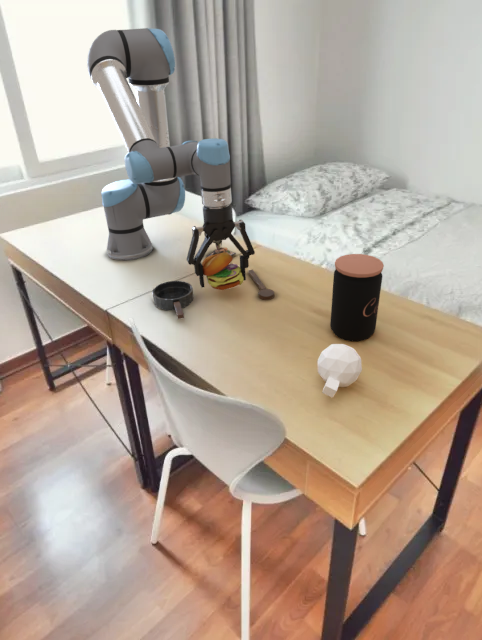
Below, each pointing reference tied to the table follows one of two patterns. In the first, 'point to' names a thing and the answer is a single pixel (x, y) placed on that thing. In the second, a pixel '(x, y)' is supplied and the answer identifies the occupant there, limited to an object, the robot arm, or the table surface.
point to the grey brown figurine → (219, 248)
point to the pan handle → (178, 310)
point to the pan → (173, 294)
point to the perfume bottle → (338, 367)
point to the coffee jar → (355, 296)
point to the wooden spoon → (261, 287)
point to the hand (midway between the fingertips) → (222, 281)
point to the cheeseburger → (222, 271)
